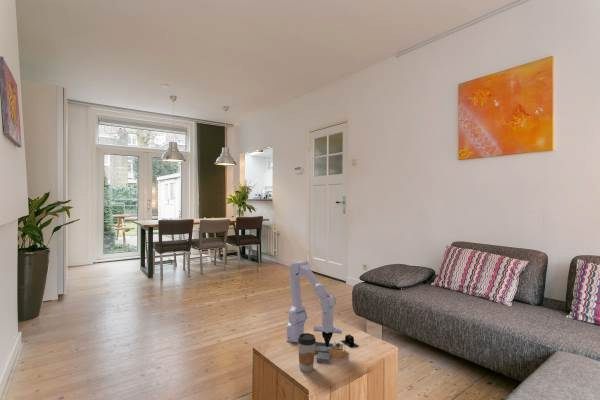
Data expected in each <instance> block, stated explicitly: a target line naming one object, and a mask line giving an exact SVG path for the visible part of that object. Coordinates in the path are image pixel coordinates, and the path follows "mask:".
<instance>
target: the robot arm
mask: <svg viewBox="0 0 600 400" xmlns="http://www.w3.org/2000/svg"><path fill="white" fill-rule="evenodd" d="M288 267H289V286H290V294H291V295H290V297H291V308H290V309H289V311H288V314H289V315H288V323H287V326H286V341H285V342H288V343H290V342H291V343H298V338H299V335H300V334H303V333H305V323H306V321H307V320H308V313H307V311H306V308H305V306H303V304H302V303H303V301H302V290H301V281H300V277H301V276H304V277H305V278H306V279H307V281H308V282H309V283H310V284H311V285H312V287H313V292H314V294H315V295H316V296H317V298H318V299H319V305H320V308H321V313H322V314H321V318H322V319H321V326H313V329H312V330H313V332H315V333H316V332H320V333H321V336H322V338H323V340H324V342H325V344H326V347H329V343H331V342H330V341H331V340H332V337H333V334H339V335H342V334H343V333H342V332H343V329H342V328H337V327H334V311H335V310H334V307H335V306H336V305H337V300H336V297H335V296H334V295H332V294H330V293H329V292H328V291H327V289H326V287H325V285H324V284H322V283H320V282H319V281H318V279H317V277H316V275H315V274H314V273H313V271H312V269H311V264H310V263H309V261H308V260H305V259H303V260H299V261H292V262H291V264H289V266H288Z"/></svg>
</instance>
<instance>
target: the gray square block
mask: <svg viewBox="0 0 600 400" xmlns="http://www.w3.org/2000/svg"><path fill="white" fill-rule="evenodd" d="M331 358H332V357H331V354H330V353H321V352H319V353H318V354H317V356H316V363H321V364H322V363H323V364H330V362H331Z"/></svg>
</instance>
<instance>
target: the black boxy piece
mask: <svg viewBox="0 0 600 400" xmlns="http://www.w3.org/2000/svg"><path fill="white" fill-rule="evenodd" d="M340 342H341V344H345V346H347V347H348V348H350V349H352V348H353V349H354V348H356V347H359V345H358V344H357V343H355V337H354V336H353V335H351V334H346V335H345V336H344V339H342V340H340Z"/></svg>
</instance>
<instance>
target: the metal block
mask: <svg viewBox="0 0 600 400" xmlns="http://www.w3.org/2000/svg"><path fill="white" fill-rule="evenodd" d="M332 343H333V345H332V347H331V349H333V350H341V344H342V343H340V342H337V341H334V342H332Z"/></svg>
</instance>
